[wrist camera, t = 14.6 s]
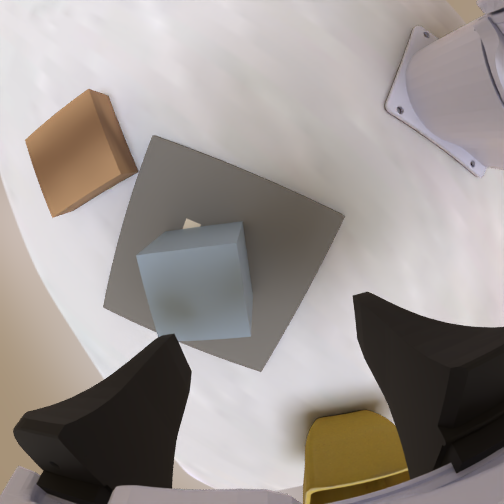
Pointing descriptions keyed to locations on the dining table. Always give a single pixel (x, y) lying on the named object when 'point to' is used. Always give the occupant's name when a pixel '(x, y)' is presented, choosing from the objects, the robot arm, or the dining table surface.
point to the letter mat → (219, 212)
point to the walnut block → (79, 153)
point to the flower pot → (351, 457)
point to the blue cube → (199, 282)
